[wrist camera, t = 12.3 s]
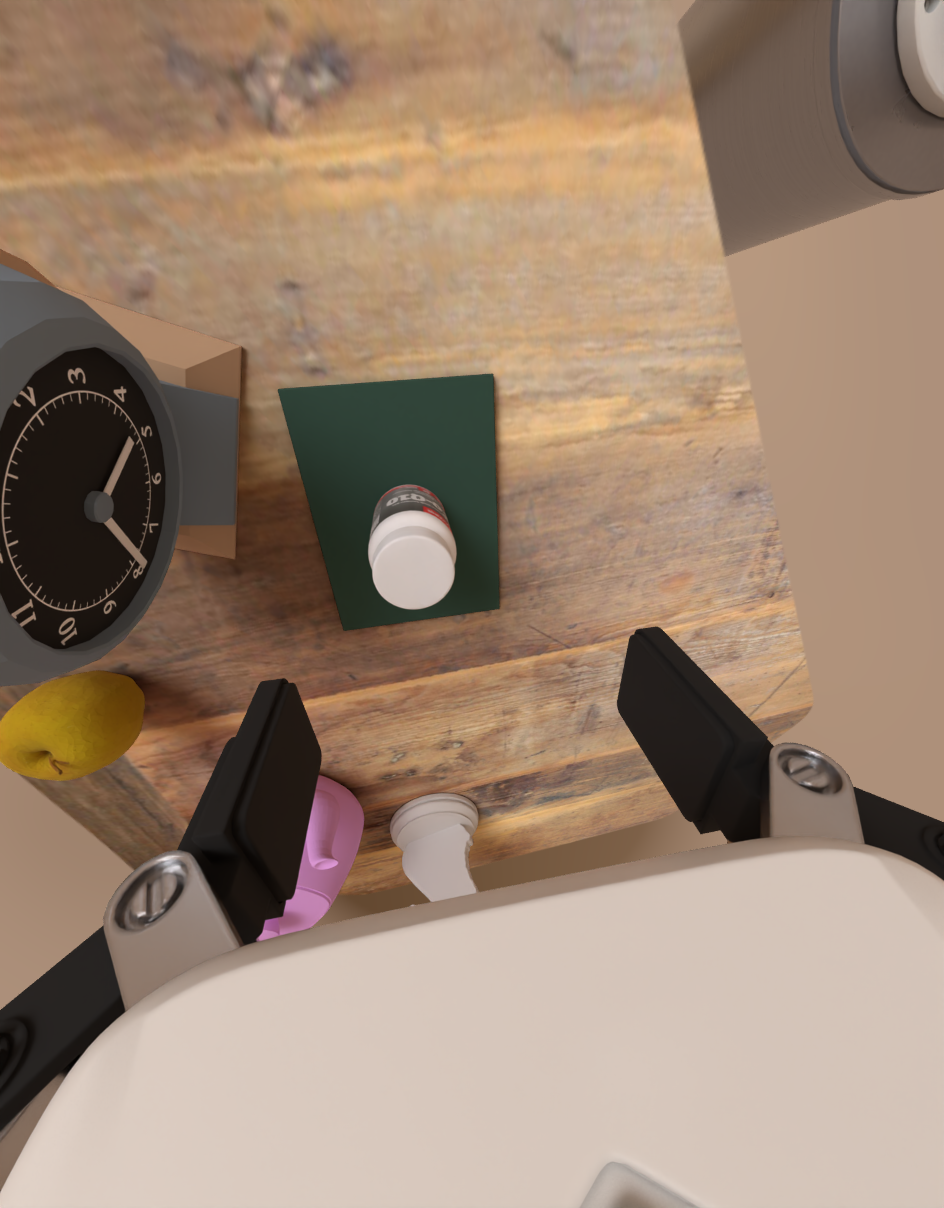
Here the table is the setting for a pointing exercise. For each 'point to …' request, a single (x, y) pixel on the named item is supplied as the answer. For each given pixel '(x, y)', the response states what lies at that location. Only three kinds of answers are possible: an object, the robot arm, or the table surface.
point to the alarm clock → (102, 467)
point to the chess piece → (437, 844)
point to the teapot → (322, 858)
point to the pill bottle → (411, 548)
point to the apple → (72, 726)
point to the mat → (399, 481)
